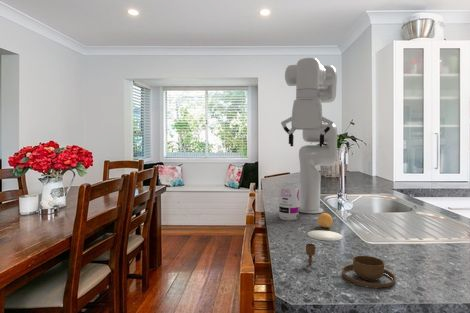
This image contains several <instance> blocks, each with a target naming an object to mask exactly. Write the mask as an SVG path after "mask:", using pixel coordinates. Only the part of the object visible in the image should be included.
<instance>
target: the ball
mask: <svg viewBox="0 0 470 313" xmlns="http://www.w3.org/2000/svg"><path fill="white" fill-rule="evenodd" d="M317 223H318V225H319V226H320V227H322V228H329V227H331V226H332V224H333V218H332V216H331V215H330V214H329V213H327V212H322V213H319V215H318V217H317Z"/></svg>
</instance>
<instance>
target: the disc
mask: <svg viewBox="0 0 470 313" xmlns="http://www.w3.org/2000/svg"><path fill="white" fill-rule="evenodd" d="M307 236H308V237H309V238H312V239H314V240H318V241H325V242H326V241H327V242H331V241H332V242H334V241H337V242H338V241H340V240H343V238H344V235H342V234H340V232H339V233H338V232H335V231H329V230H321V229H320V230H311V231H308V232H307Z"/></svg>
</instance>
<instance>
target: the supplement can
mask: <svg viewBox="0 0 470 313" xmlns="http://www.w3.org/2000/svg"><path fill="white" fill-rule="evenodd" d="M278 198H279V199H278V201H279V202H278V203H279V204H278V208H279V209H278V217H279V218H280V219H281V220H283V221H292V222H293V221H297V220H298V219H299V212H298V211H299V207H300V186H299V185H298V183H294V182H282V183H280V186H279V197H278Z"/></svg>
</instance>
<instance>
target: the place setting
mask: <svg viewBox="0 0 470 313" xmlns="http://www.w3.org/2000/svg"><path fill="white" fill-rule="evenodd" d="M305 253H306V255H307V256H308V259H307V260H308V264H307V265H309V266H313V256H314V255H315V253H316V244H313V243H306V244H305ZM352 261H353V262H352V264H348V265H345V266H342V269H341V274H342V276H343V277H344V279H345V280H347V281H348V282H350V283H352V282H353V283H352V284H354V283H355V284H354V285H357V284H359V285H358V286H360V285H362V286H361V287H364V286H368V287H367V288H369V287H388V286H391V285H392V286H393V285H394V284H395V283H396V280H397V278H396V274H395V273H393V272H391V271H390V270H387V269H386V268H385V262H384V261H383V260H382V259H380V258H378V257H375V256H370V255H356V256H354V257H353V258H352ZM384 268H385V269H386V270H385V269H384ZM351 269H354V270H353V272H354V273H355V274H356V275H357V276H358V278H360V277H361V278H362V279H361V278H360V279H361V280H358V279H356V278H353V277H351V276H349V275H348V274H347V272H350V271H352V270H351ZM349 270H350V271H349ZM383 273H386V274H388V275H389V276H390V277H392V278H393V281H391V280H390V281H389V282H384V283H382V282H381V283H373V282H369V281H366V280H376V279H377V280H378V279H380V278H381V277H383V276H384V275H383ZM392 273H393V274H392ZM394 274H395V275H394ZM322 276H323V277H325V276H326V277H327V276H328V274H327V273H325V274H324V273H323V274H322ZM363 279H365V280H363ZM362 280H363V281H362ZM377 280H376V281H377ZM392 286H391V287H392ZM388 288H389V287H388Z"/></svg>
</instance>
